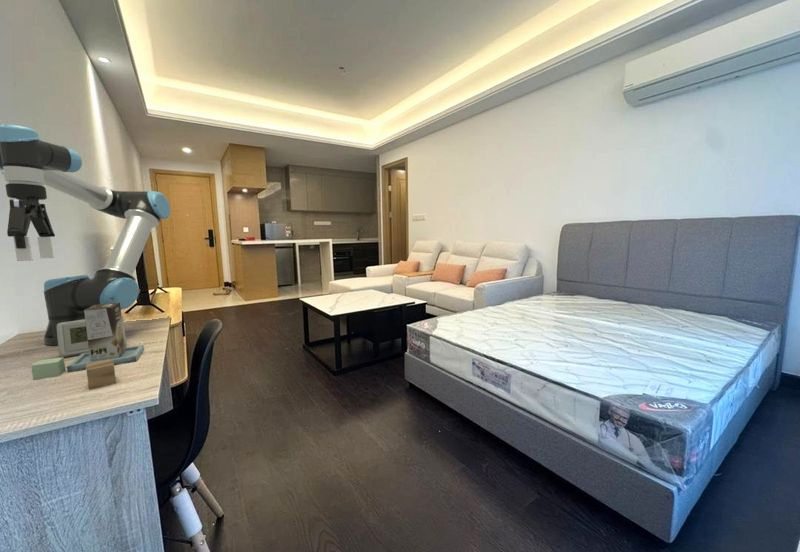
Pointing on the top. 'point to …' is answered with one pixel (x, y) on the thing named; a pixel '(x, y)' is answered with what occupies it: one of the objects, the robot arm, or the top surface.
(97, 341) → the coffee box
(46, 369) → the sage block
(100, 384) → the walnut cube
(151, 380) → the top surface
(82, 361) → the tray
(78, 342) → the digital clock
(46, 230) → the robot arm
